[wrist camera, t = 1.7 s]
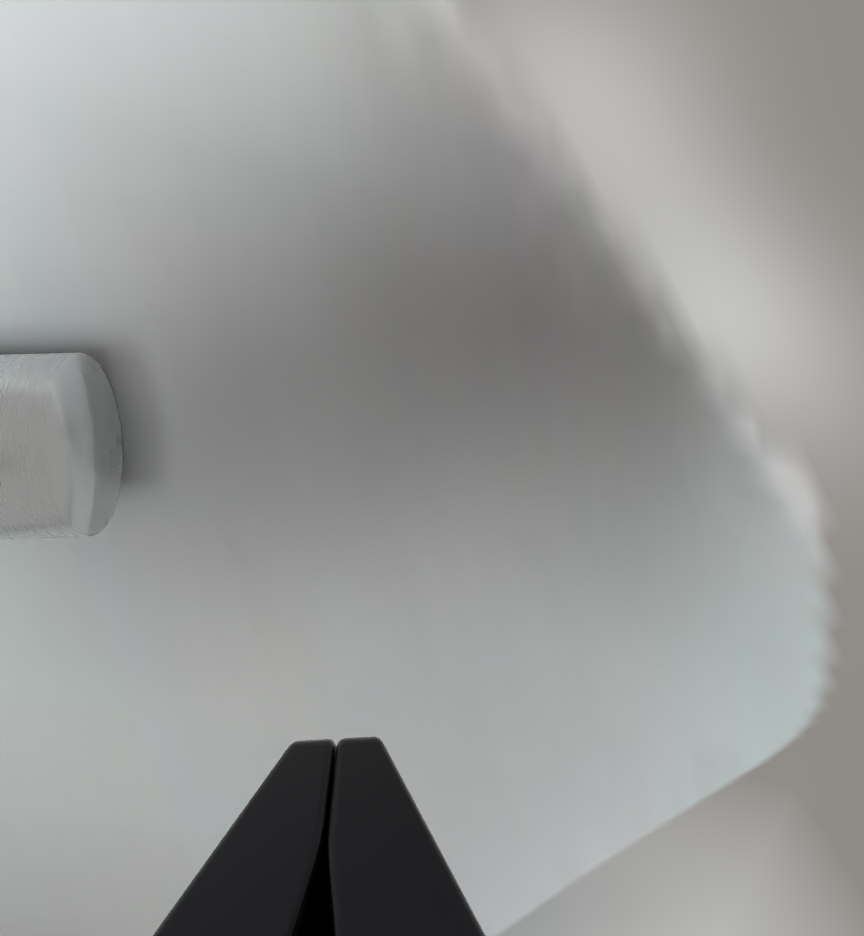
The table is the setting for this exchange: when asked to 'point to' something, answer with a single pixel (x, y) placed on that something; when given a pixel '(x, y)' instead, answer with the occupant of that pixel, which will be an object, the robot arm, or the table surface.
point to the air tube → (57, 446)
